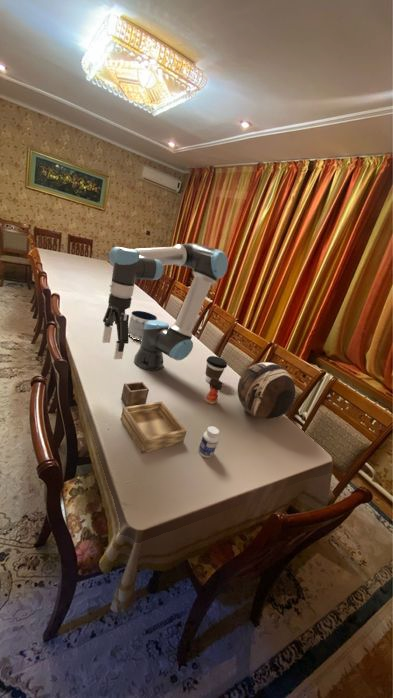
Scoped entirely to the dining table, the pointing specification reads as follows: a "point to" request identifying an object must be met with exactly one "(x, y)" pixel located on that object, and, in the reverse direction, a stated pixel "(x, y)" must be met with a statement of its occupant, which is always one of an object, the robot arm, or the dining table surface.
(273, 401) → the sphere
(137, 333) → the planter
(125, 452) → the dining table surface
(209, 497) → the dining table surface
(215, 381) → the figurine
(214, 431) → the pill bottle
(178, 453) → the dining table surface
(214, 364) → the coffee cup
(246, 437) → the dining table surface
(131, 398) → the walnut crate
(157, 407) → the oak crate
